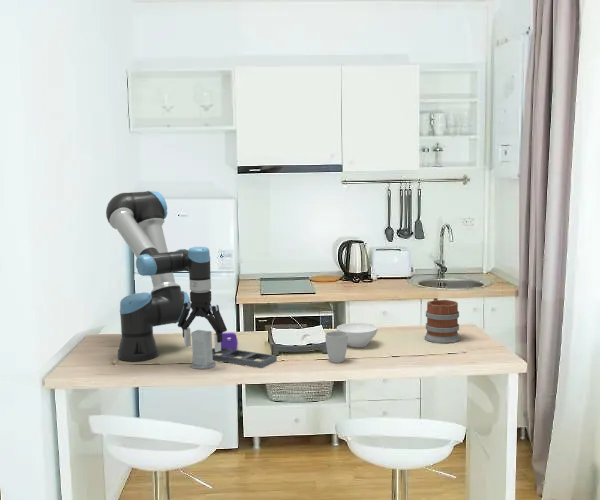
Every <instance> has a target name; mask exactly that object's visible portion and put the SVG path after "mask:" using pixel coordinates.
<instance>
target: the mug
mask: <svg viewBox="0 0 600 500" xmlns="http://www.w3.org/2000/svg"><path fill="white" fill-rule="evenodd" d="M458 304H459V303H458V302H457V301H456V300H455V301H454V300H449V299H438V297H433V300H428V301H427V302H426V306H427V307H426V311H425V317H426V323H425V329H426V333H425V335H424V339H425V340H426V341H427V342H430V343H432V344H433V343H436V344H453V343H457V342H458V341H460V339H461V337H460V335H459V333H458V331H459V330H460V324H459V322H458V320H459V319H458V318H460V311H459V305H458Z"/></svg>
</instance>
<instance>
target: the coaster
mask: <svg viewBox="0 0 600 500" xmlns="http://www.w3.org/2000/svg"><path fill="white" fill-rule="evenodd" d="M216 366H217V363H216V361H213V363H212V364H210V365H208V366H202V365H194V364H193V362H192V363H190V368H191V369H194V370H208V369H213V368H215V367H216Z"/></svg>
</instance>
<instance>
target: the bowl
mask: <svg viewBox="0 0 600 500" xmlns="http://www.w3.org/2000/svg"><path fill="white" fill-rule="evenodd" d="M378 328H379V327H378V326H377V325H375V324H373V323H368V322H349V323H348V322H347V323H342V324H339V325H337V326H336V331H341V332H346V333H347V334H348V338H347V347H350V348H364V347H366V346H368V345H369V343H370V341H372V340H373V338H375V337H376V335H377V333H378Z"/></svg>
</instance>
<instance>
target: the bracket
mask: <svg viewBox="0 0 600 500" xmlns="http://www.w3.org/2000/svg"><path fill="white" fill-rule="evenodd" d="M221 348H228V349H235V350H238V338H237V334H236V333H235V332H223V333H222V342H221Z"/></svg>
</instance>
